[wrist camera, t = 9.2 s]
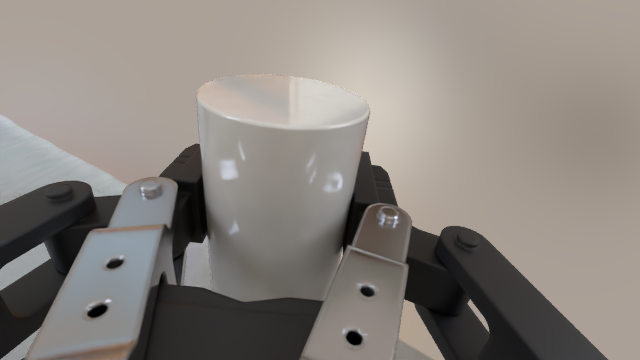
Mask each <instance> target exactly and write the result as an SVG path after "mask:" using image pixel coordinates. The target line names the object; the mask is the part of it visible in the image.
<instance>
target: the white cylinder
mask: <svg viewBox="0 0 640 360" xmlns="http://www.w3.org/2000/svg"><path fill="white" fill-rule="evenodd" d="M196 103H197V116H198V129H199V141H200V154H201V166H202V178H203V190H204V203H205V215H206V227H207V239H208V252H209V264H210V276H211V288H212V291H214V292H216V293H219V294H222V295H225V296H228V297H230V298H233V299H236V300H239V301H243V302H250V301H259V300H268V299H277V298H286V297H292V298H301V299H311V300H320V301H324V300H325V297H326V295H327V293H328V290H329V288H330V285H331V283H332V281H333V278H334V276H335V274H336V271H337V269H338V266H339V261H340V257H341V252H342V247H343V242H344V237H345V232H346V227H347V222H348V218H349V213H350V208H351V203H352V198H353V193H354V188H355V184H356V179H357V174H358V169H359V164H360V159H361V154H362V149H363V144H364V140H365V135H366V130H367V125H368V120H369V115H370V108H369V105H368V104H367V102H366V101H365V100H364V99H363V98H361V97H360V96H358V95H356V94H355V93H353V92H351V91H349V90H346V89H344V88H342V87H338V86H336V85H332V84H329V83H325V82H321V81H316V80H312V79H306V78H300V77H293V76H282V75H266V74H264V75H263V74H257V75H255V74H253V75H237V76H229V77H224V78H219V79H216V80H212V81H210V82H207V83H206V84H204V85H202V86H201V87H200V88H199V89H198V91H197V93H196Z"/></svg>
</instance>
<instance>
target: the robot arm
mask: <svg viewBox="0 0 640 360" xmlns="http://www.w3.org/2000/svg"><path fill="white" fill-rule="evenodd" d="M206 235H207V227H206V215H205V203H204V190H203V178H202V166H201V154H200V144H194V145H192V146H190V147H188V148H186V149H185V150H184V151H183V152H182V153H181V154H180V155H179V157H177V158H176V159H175V160H174V161H173V162H172V163H171V164H170V165H169V166H168V167H167V168H166V169H165V170H164V171H163V172H162V173H161V174H160V176H159V177H150V178H144V179H140V180H137V181H135V182H133V183H131V184H129V185H128V186H127V187H126V188H125V189H124V191H123V193H122V195H118V196H103V197H94V195H93V192H92V189H91V186H90V185H89V184H87V183H85V182H80V181H63V182H57V183H52V184H49V185H46V186H43V187H41V188H38V189H36V190H34V191H32V192H30V193H27V194H25V195H23V196H21V197H18V198H16V199H14V200H12V201H9V202H7V203H5V204H3V205H0V269H1V268H2V267H3V266H4V265H6V264H7V263H9V262H10V261H12V260H14V259H16V258H17V257H19V256H21V255H22V254H24V253H26V252H27V251H29V250H31V249H33V248H34V247H36V246H38V245H39V244H41V243H43V242H44V243H45V246H46V248H47V250H48V253H49V255H50V257H51V259H49V260H48V261H46V262H45V263H43V264H42V265H40V266H38V267H37V268H35V269H34V270H32V271H31V272H29V273H28V274H26V275H24V276H23V277H21V278H20V279H18V280H17V281H15V282H14V283H12V284H10V285H9V286H7V287H6V288H4V289H3V290H1V291H0V359H1V358H3V357H4V356H5V355H6V354H8V353H9V352H10V351H11V350H13V349H14V348H15V347H16V346H18V345H19V344H20V343H21V342H23V341H24V340H25V339H26V338H28V337H29V336H30V335H31V334H33V333H34V332H35V331H36V330H38V329H39V328H40V327H41V328H40V330H39V332H38V334H37V336H36V337H35V339H34V341H33V343H32V345H31V347H30V349H29V351H28V353H27V355H26V357H25V358H23V359H22V360H395V357H396V350H397V343H398V336H399V330H400V329H399V328H400V322H401V316H402V309H403V302H404V299H405V300H408V301H410V302H413V303H414V304H415V308H416V310H417V312H418V313H419V315H420V317H421V319H422V320H423V322H424V324H425V326H426V327H427V329H428V331H429V333H430V334H431V336H432V338H433V339H434V341H435V343H436V344H437V346H438V348H439V350H440V351H441V353H442V355H443V357H444V358H445V360H608V359H607V358H606V357H605V356H604V355H603V354H602V353H601V352H600V351H599V350H598V349H597V348H596V347H595V346H594V345H593V344H591V342H589V341H588V340H587V338H586V337H585V336H584V335H583V334H581V332H579V331H578V330H577V329H576V328H575V327H574V326H573V325H572V324H571V323H570V322H569V321H568V320H567V319H566V318H565V317H564V316H563V315H562V314H561V313H560V312H559V311H558V310H557V309H556V308H555V307H554V306H553V305H552V304H551V303H550V302H549V301H548V300H547V299H546V298H545V297H544V296H543V295H542V294H541V293H540V292H539V291H538V290H537V289H536V288H535V287H534V286H533V285H532V284H531V283H530V282H529V281H528V280H527V279H526V278H525V277H524V276H523V275H522V274H521V273H520V272H519V271H518V270H517V269H516V268H515V267H514V266H513V265H512V264H511V263H510V262H509V261H508V260H507V259H506V258H505V257H504V256H503V255H502V254H501V253H500V252H499V251H498V250H497V249H496V248H495V247H494V246H493V245H492V244H491V243H490V242H489V241H488V240H487V239H485V238H484V237H483V236H482V235H480V234H479V233H477V232H475V231H473V230H471V229H468V228H465V227H460V226H449V227H446V228H444V229H443V230H442V232H441V235H440V236H437V235H434V234H431V233H428V232H425V231H422V230H419V229H417V228H415V227H413V226H412V220H411V218H410V216H409V215H408V214H407V213H406V212H405V211H404V210H402V209H401V208H399V207H398V205H397V202H396V198H395V195H394V192H393V189H392V185H391V183H390V178H389V175H388V173H387V172H386V171H385V170H384V169H383V168H382V167H381V166H375V165H371V161H370V156H369V152H363V151H362V154H361V159H360V164H359V169H358V174H357V179H356V184H355V188H354V193H353V198H352V203H351V208H350V213H349V218H348V222H347V227H346V232H345V237H344V242H343V257H342V259H341V262H340V264H339V266H338V269H337V271H336V274H335V276H334V278H333V281H332V283H331V285H330V288H329V290H328V293H327V295H326V297H325V300H324V301H320V300H311V299H301V298H292V297H286V298H277V299H268V300H259V301H250V302H243V301H239V300H236V299H233V298H230V297H228V296H225V295H222V294H219V293H216V292H214V291H211V290H208V289H205V288H200V287H191V286H184V277H185V268H186V259H187V253H186V247H187V246H188V244H189V242H195V243H203V241H204V239H205V237H206ZM470 299H471V301H472V302H473V303H474V304H475V306H476V307H477V308H478V310H479V311H480V312H481V314H482V315H483V316H484V318H485V319H486V321H487V324H488V326H489V332H490V334H489V332H488V331H487V330H486V328H485V327H484V326H483V324H482V323H481V322H480V320H479V319H478V317H477V316H476V315H475V314H474V312H473V311H472V309H471V308H470V307H469V305H468V304H467V303H468V301H469V300H470Z"/></svg>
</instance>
